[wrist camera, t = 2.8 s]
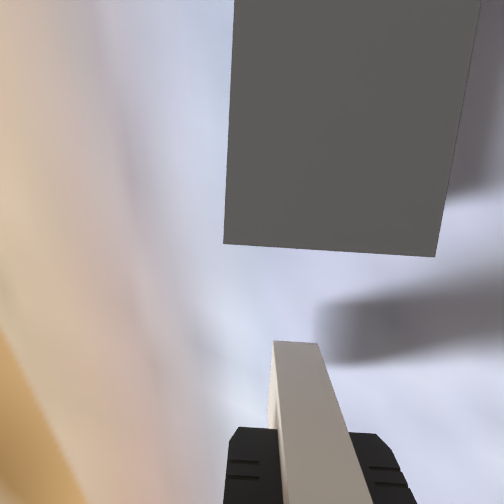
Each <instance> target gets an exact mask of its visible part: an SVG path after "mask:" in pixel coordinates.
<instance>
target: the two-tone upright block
mask: <svg viewBox="0 0 504 504" xmlns="http://www.w3.org/2000/svg"><path fill="white" fill-rule="evenodd" d="M480 5H481V0H234V22H233V44H232V65H231V87H230V109H229V130H228V152H227V174H226V196H225V217H224V239H223V244H233V245H249V246H264V247H280V248H296V249H311V250H327V251H343V252H358V253H374V254H390V255H406V256H421V257H435V255H436V249H437V244H438V238H439V232H440V227H441V221H442V216H443V210H444V205H445V199H446V194H447V188H448V183H449V177H450V171H451V166H452V160H453V155H454V149H455V144H456V138H457V133H458V127H459V122H460V116H461V111H462V105H463V99H464V94H465V88H466V83H467V77H468V72H469V66H470V61H471V55H472V50H473V44H474V38H475V33H476V27H477V22H478V16H479V11H480Z"/></svg>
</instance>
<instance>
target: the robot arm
mask: <svg viewBox="0 0 504 504" xmlns="http://www.w3.org/2000/svg"><path fill="white" fill-rule="evenodd" d="M267 416H268V429H266V428H250V427H238V429H237V430H236V432H235V433H234V435H233V436H232V438H231V439H230V441H229V448H228V459H227V469H226V479H225V489H224V500H223V504H417V502H416V500H415V498H414V496H413V494H412V492H411V490H410V488H408V484H407V481H406V479H405V477H404V475H403V473H402V472H401V471H400V467H399V465H398V463H397V461H396V459H395V456H394V454H393V452H392V450H391V449H390V448H389V447H388V446H387V445H386V444H385V443H384V442H383V441H382V440H381V439H380V438H379V437H378V436H377V435H376V434H370V433H354V432H348V430H347V427H346V424H345V421H344V418H343V416H342V413H341V410H340V407H339V404H338V401H337V398H336V395H335V393H334V390H333V387H332V384H331V381H330V378H329V375H328V372H327V370H326V367H325V364H324V361H323V358H322V355H321V352H320V350H319V347H318V344H317V343H305V342H289V341H273V348H272V360H271V372H270V384H269V396H268V408H267Z"/></svg>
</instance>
